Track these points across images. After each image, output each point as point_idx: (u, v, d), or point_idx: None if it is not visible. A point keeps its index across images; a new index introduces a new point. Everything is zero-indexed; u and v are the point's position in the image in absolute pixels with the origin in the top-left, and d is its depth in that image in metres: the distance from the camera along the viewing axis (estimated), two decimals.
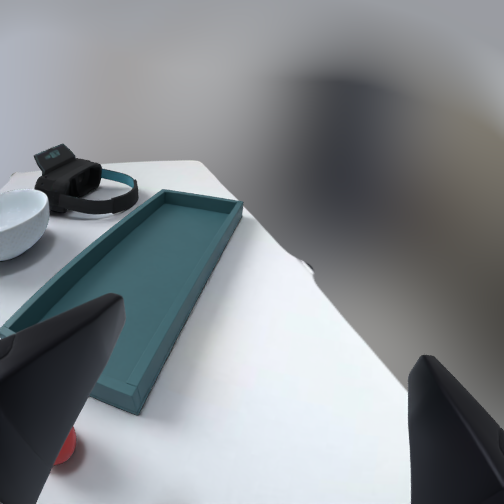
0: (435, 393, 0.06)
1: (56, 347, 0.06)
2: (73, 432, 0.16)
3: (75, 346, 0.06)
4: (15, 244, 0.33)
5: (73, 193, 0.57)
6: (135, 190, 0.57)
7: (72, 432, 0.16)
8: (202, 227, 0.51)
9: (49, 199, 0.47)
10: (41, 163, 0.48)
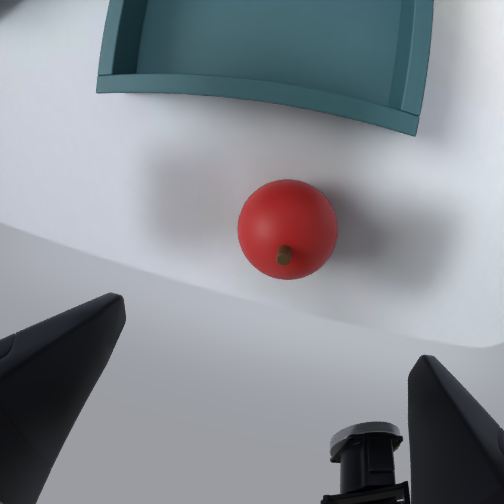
0: (435, 393, 0.06)
1: (56, 347, 0.06)
2: None
3: (75, 346, 0.06)
4: None
5: None
6: None
7: (336, 219, 0.15)
8: None
9: None
10: None
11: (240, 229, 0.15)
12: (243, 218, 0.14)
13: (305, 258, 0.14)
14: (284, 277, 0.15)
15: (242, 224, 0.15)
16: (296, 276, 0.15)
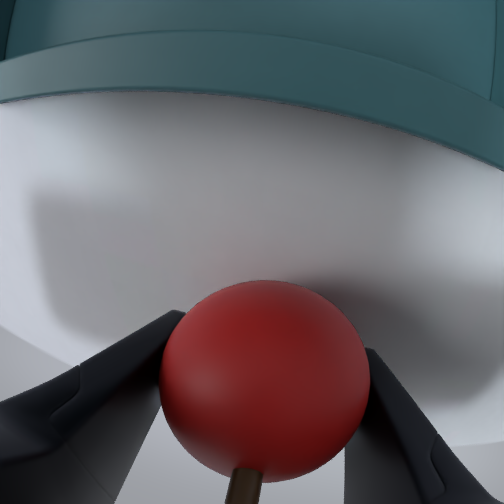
0: None
1: (132, 378, 0.06)
2: None
3: (148, 373, 0.06)
4: None
5: None
6: None
7: (369, 376, 0.06)
8: None
9: None
10: None
11: (160, 397, 0.06)
12: (161, 385, 0.06)
13: (294, 476, 0.05)
14: None
15: (160, 393, 0.06)
16: None
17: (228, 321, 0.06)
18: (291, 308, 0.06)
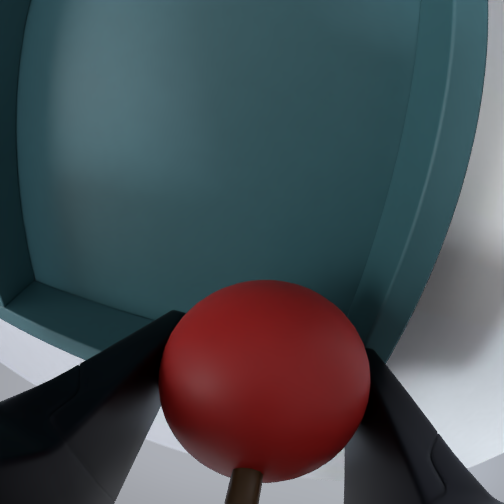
0: None
1: (132, 378, 0.06)
2: (369, 370, 0.06)
3: (148, 373, 0.06)
4: None
5: None
6: None
7: (369, 376, 0.06)
8: None
9: None
10: None
11: (160, 397, 0.06)
12: (161, 384, 0.06)
13: (294, 476, 0.05)
14: None
15: (160, 393, 0.06)
16: None
17: (228, 321, 0.06)
18: (291, 308, 0.06)
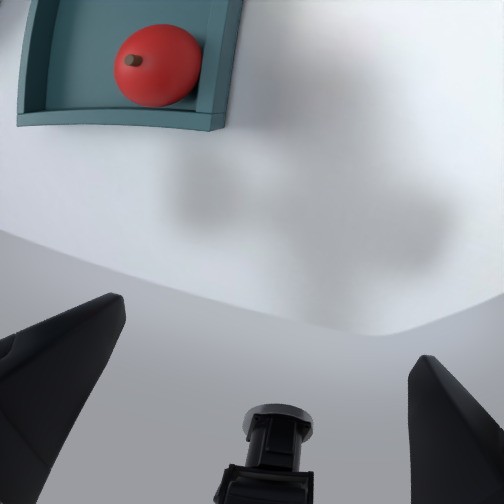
0: (435, 393, 0.06)
1: (56, 347, 0.06)
2: (196, 44, 0.13)
3: (75, 346, 0.06)
4: None
5: None
6: None
7: (196, 45, 0.13)
8: None
9: None
10: None
11: (114, 64, 0.13)
12: (116, 55, 0.13)
13: (155, 66, 0.12)
14: (143, 93, 0.13)
15: (115, 59, 0.13)
16: (153, 90, 0.13)
17: None
18: None
